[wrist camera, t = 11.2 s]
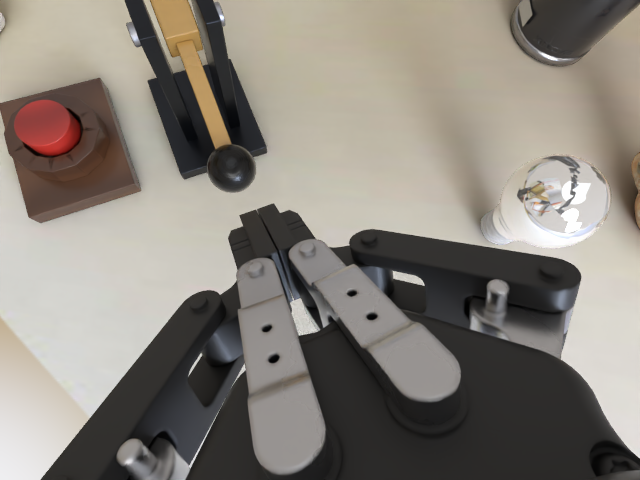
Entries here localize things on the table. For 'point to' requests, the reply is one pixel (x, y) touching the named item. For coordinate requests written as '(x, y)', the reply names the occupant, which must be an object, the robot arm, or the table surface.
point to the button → (47, 127)
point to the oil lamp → (637, 185)
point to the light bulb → (550, 203)
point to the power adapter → (2, 21)
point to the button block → (73, 155)
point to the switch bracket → (179, 97)
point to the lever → (204, 96)
